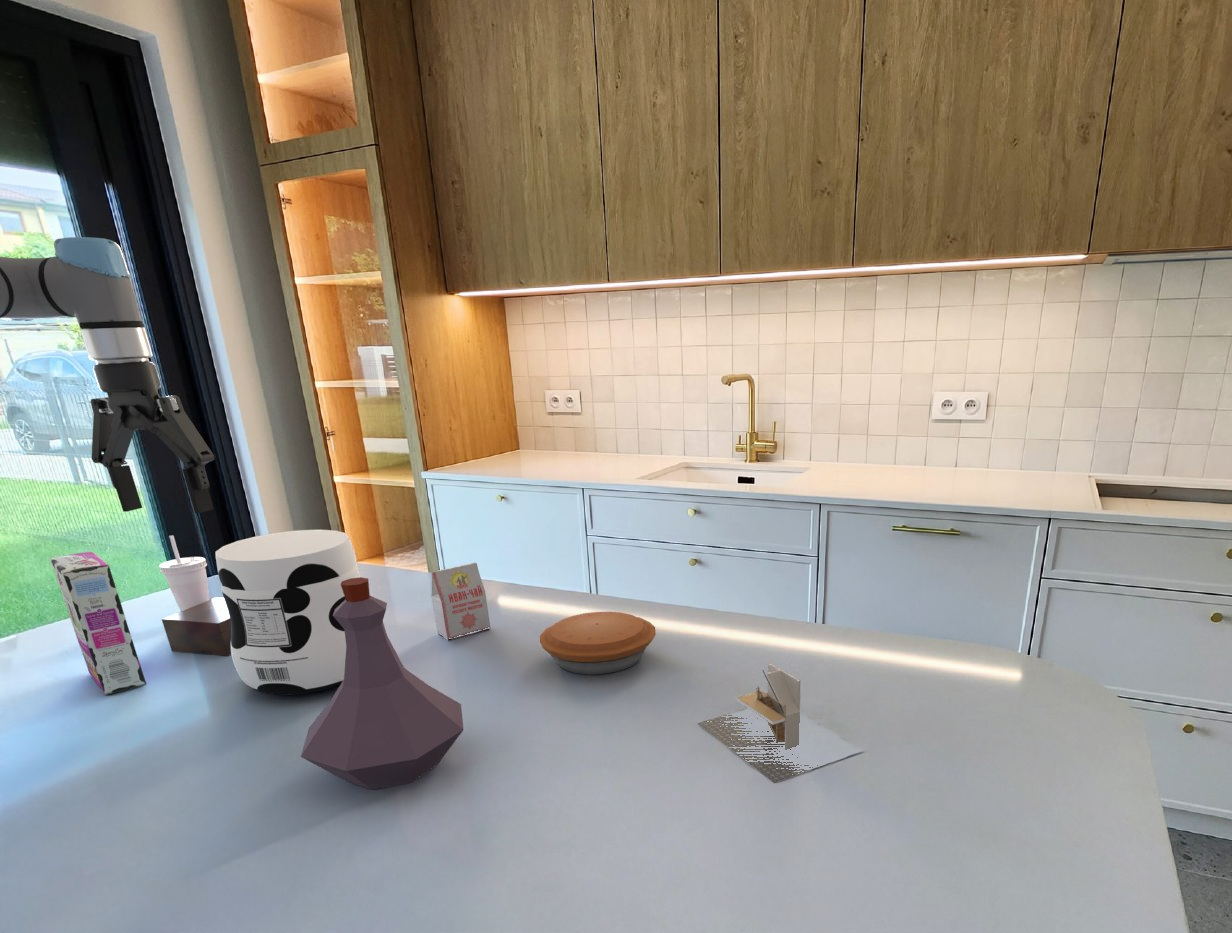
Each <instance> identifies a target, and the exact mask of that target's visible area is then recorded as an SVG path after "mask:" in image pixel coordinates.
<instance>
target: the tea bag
mask: <svg viewBox="0 0 1232 933" xmlns="http://www.w3.org/2000/svg"><path fill="white" fill-rule="evenodd" d="M486 594H487V593H486V590H485V586H484V583H483V581H482V577H481V574H480V571H479V567H478V563H477V562H471V563H467V564H462V565H458V566H453V567H448V568H443V569H439V570H434V571H431V594H430V595H431V597H430V598H431V603H432V608H433V615H434V619H435V626H436V632H437V634H438V633H439V634H440V635H442V636H443V637H445V638H447V639H449V638H454V637H457V636H459V635H465V634H467V633H470V632H474V631H478V630H483V629H485V628H488V627H490V628H491V623H490V616H489V608H488V601H487V595H486ZM440 635H439V636H440ZM443 637H442V638H443Z"/></svg>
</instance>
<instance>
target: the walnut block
mask: <svg viewBox="0 0 1232 933" xmlns="http://www.w3.org/2000/svg"><path fill="white" fill-rule="evenodd" d="M161 622H162V626H163V628H164V631H165V635H166V638H167V641H168V645H169V648H170V651H171V652H177V653H188V654H189V653H190V654H199V655H212V656H222V657H223V656H224V657H229V656H232V655H231V621H230V616H229V613H228V609H227V606H226V603H225V600H224V597H219V596H218V597H217V596H216V597H213V598H210V600H209V601H206V602H204V603H201V604H198V605H196V606H193V607H191V608H188V609H186V610H183V611H178V612H176V613H173V614H171V615H168V616H166V617H164V618H162V619H161Z"/></svg>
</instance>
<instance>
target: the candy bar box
mask: <svg viewBox="0 0 1232 933" xmlns="http://www.w3.org/2000/svg"><path fill="white" fill-rule="evenodd" d="M49 561H50V564H51V566H52V569H53V573H54V575H55V577H56V580H57V584H58V587H59V591H60V593H61V596H62V599H63V601H64V604H65V608H66V611H67V613H68V616H69V619H70V621H71V625H72V628H73V630H74V633H75V636H76V637H75V638H76V639H77V643H78V645H79V648H80V651H81V654H82V657H83V660H84V662H85V665H86V667H87V671H88V673H89V675H90V677H91V678H92V679H93V680H94V682H95V684H97V686H98V687H99V689H100V691H101V692H102V694H103V695H104V696H109V695H112V694H116V693H120V692H125V691H128V690H132V689H136V688H139V687H142V686H146V685H147V681H146V678H145V675H144V672H143V669H142V666H141V663H140V662H141V661H140V659H139V657H138V654H137V651H136V647H135V644H134V641H133V640H134V639H133V637H132V634H131V631H130V628H129V625H128V621H127V619H126V614H125V612H124V609H123V605H122V601H121V599H120V596H119V593H118V590H117V586H116V583H115V580H114V577H113V574H112V571H111V567H110V565H109V564H108V563H107V562H106V561H104V560H103V559H102V558H100V556H98V555H97V554H95V552H93V551H85V552H77V553H72V554H64V555H60V556H54V557H50V558H49Z"/></svg>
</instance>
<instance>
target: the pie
mask: <svg viewBox="0 0 1232 933" xmlns="http://www.w3.org/2000/svg"><path fill="white" fill-rule="evenodd" d="M656 635H657V633H656V626H654V624H652V623H651V622H650V621H648V620H647V619H644V618H642V617H639V616H635V615H633V614H630V613H625V612H619V611H593V612H584V613H579V614H574V615H571V616H567V617H565V618H563V619H561V620H559V621H557V622H555V623H554V624H552V625H550V626H548V627H547V628H545V629H544V630H543V631H542V632H541V633H540V635H539V643H540V645H541V647H542V649H543V650H544V651H546V653H548V654H550V656H551V658H553V660H554V661H555V662H556V664H557V665H558V666H559V667H560V668H561V669H564V670H565V671H567V672H571V673H574V674H580V675H606V674H612V673H616V672H620V671H623V670H626V669H628V668H631V667H633V666H634V665H636V664H637V663H638V662H639V661H640V659H641V657H642V656H643V654H644V652H645V650H646V649H647V647H648V646H649V645H650V644H651V643H652V642H653V640H654V638H655V637H656Z"/></svg>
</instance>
